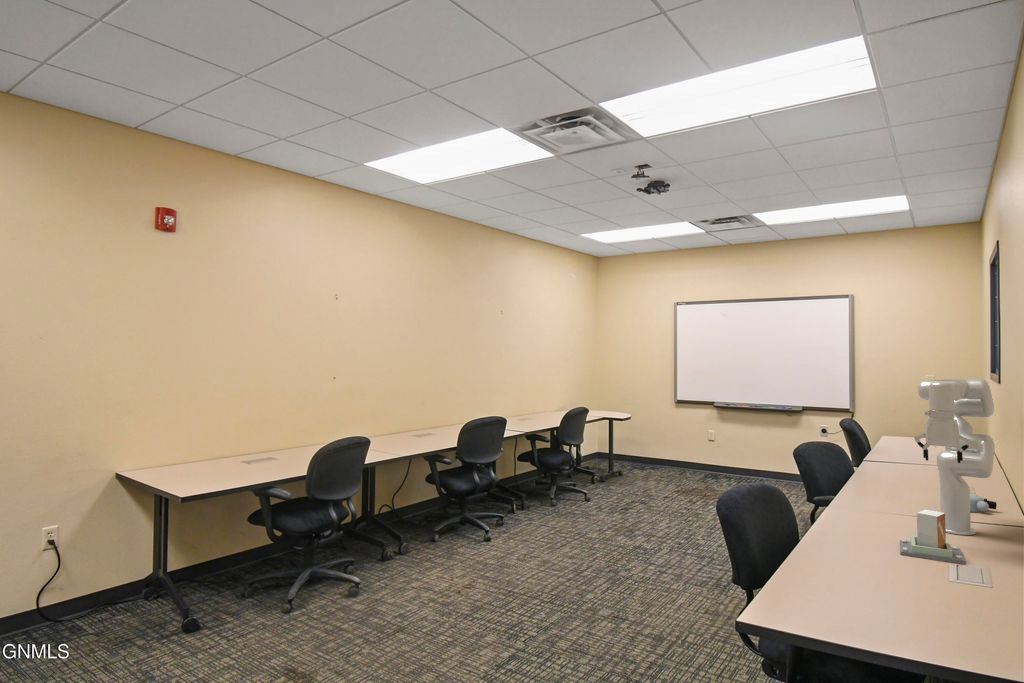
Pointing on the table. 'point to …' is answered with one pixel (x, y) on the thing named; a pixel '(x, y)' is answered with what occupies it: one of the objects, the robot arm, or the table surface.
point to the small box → (931, 529)
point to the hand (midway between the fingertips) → (942, 461)
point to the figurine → (980, 503)
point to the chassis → (931, 551)
